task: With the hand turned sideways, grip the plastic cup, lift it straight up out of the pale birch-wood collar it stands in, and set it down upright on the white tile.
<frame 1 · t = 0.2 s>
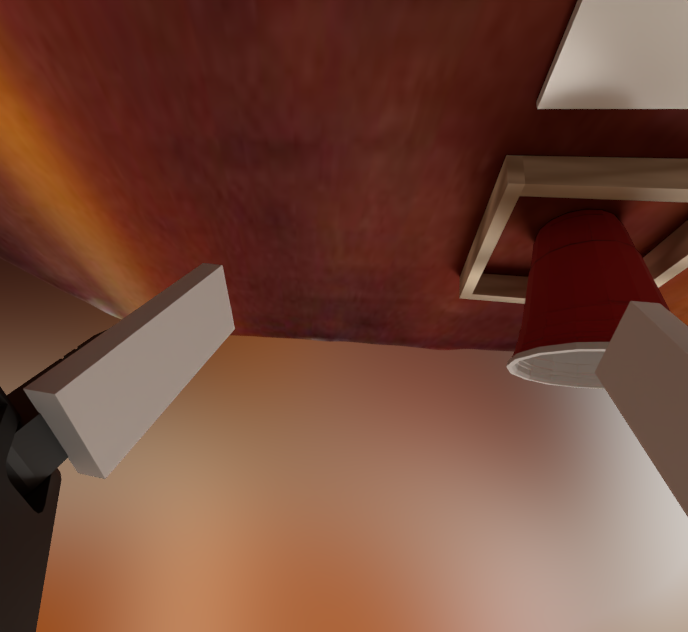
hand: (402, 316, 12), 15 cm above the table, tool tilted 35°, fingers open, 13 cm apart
plastic cup: (573, 233, 28), resting in birch collar
birch collar: (573, 235, 28), on the table
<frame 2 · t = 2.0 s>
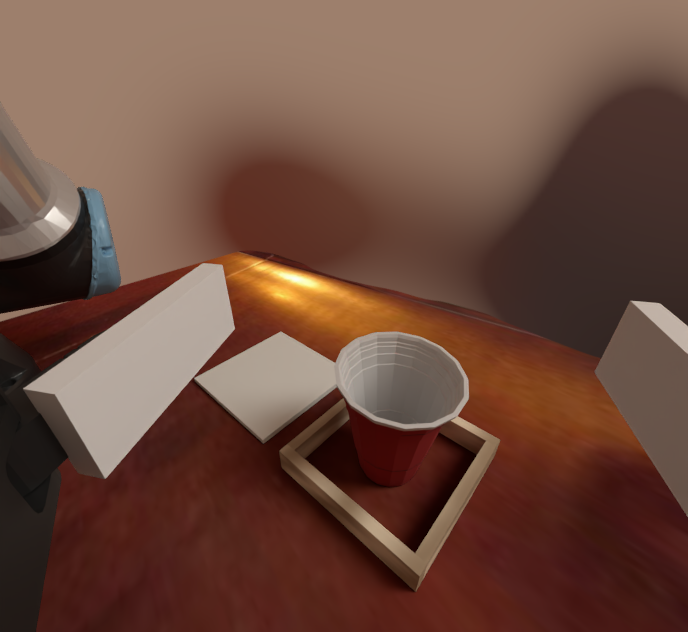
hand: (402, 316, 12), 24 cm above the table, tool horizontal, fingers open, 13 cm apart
plastic cup: (389, 463, 34), resting in birch collar
white tile: (274, 378, 44), on the table
birch collar: (389, 461, 34), on the table
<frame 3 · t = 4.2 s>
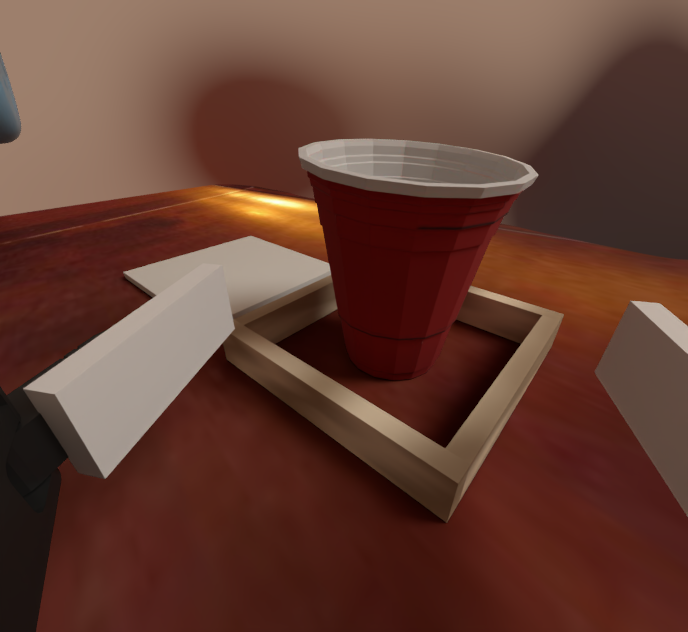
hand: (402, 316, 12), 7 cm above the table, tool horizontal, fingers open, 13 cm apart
plastic cup: (393, 355, 22), resting in birch collar
white tile: (234, 275, 32), on the table
birch collar: (393, 352, 22), on the table
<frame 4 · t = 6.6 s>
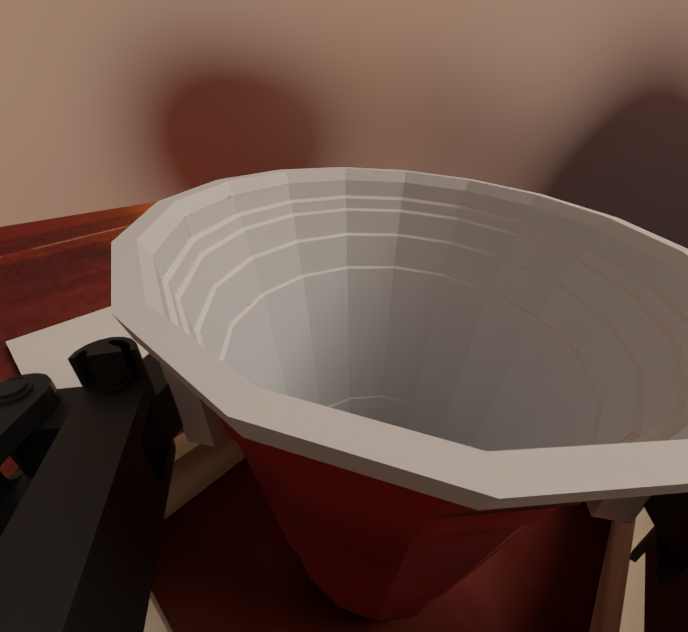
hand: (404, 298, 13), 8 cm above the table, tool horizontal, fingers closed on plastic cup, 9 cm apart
plastic cup: (379, 534, 13), resting in birch collar, touching gripper
white tile: (164, 344, 23), on the table
birch collar: (379, 531, 13), on the table
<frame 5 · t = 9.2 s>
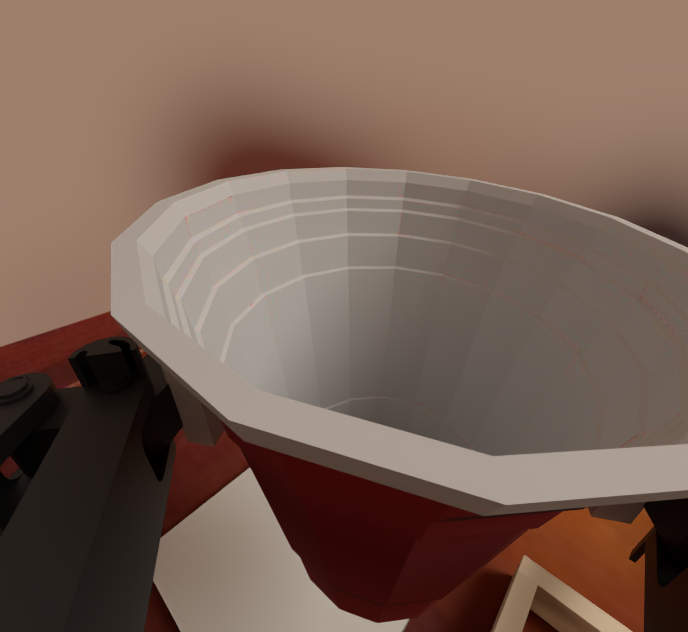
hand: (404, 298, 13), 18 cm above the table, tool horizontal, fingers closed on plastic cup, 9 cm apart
plastic cup: (380, 535, 13), point 10 cm above the table, touching gripper
white tile: (301, 549, 22), on the table
when the fingers open (10 cm above the table, at t = 12.1 s): plastic cup drops 1 cm, resting on white tile.
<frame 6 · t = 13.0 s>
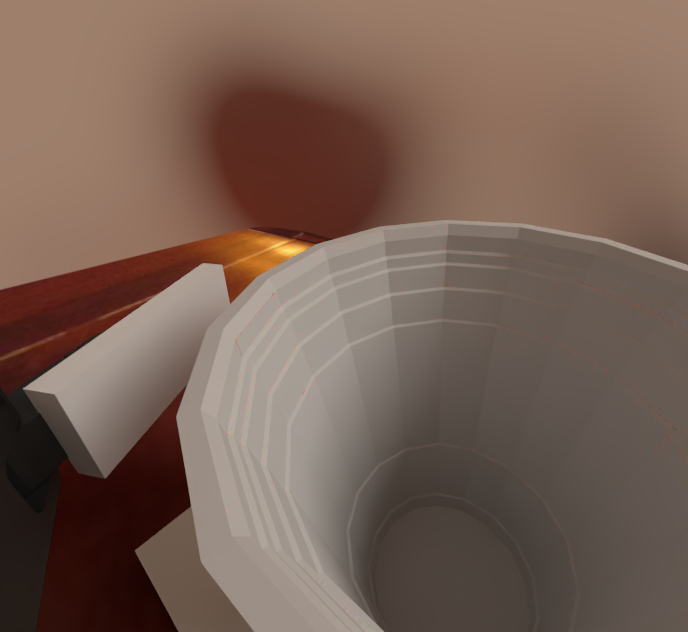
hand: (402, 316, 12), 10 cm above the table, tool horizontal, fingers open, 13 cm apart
plastic cup: (452, 589, 13), point 1 cm above the table, touching white tile, gripper
white tile: (376, 542, 15), on the table
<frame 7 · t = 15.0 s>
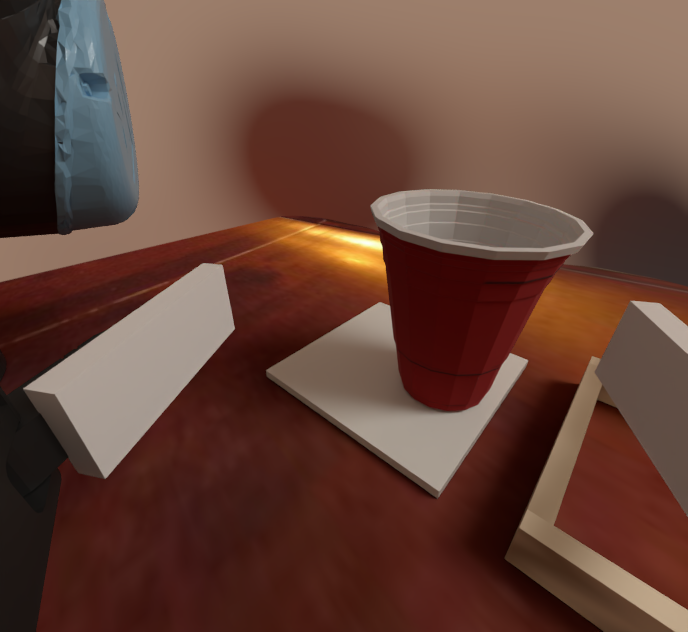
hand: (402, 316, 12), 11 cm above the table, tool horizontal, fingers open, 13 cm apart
plastic cup: (444, 386, 24), point 1 cm above the table, touching white tile
white tile: (399, 371, 26), on the table
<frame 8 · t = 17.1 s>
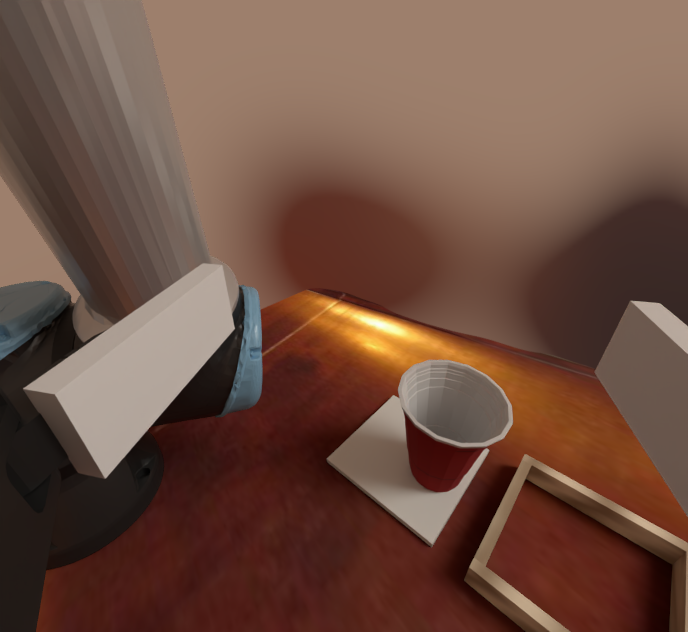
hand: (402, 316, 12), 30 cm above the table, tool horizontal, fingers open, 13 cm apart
plastic cup: (436, 471, 39), resting on white tile
white tile: (408, 457, 41), on the table
birch collar: (577, 571, 31), on the table
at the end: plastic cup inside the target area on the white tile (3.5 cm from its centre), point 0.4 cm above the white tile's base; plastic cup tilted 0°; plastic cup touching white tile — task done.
